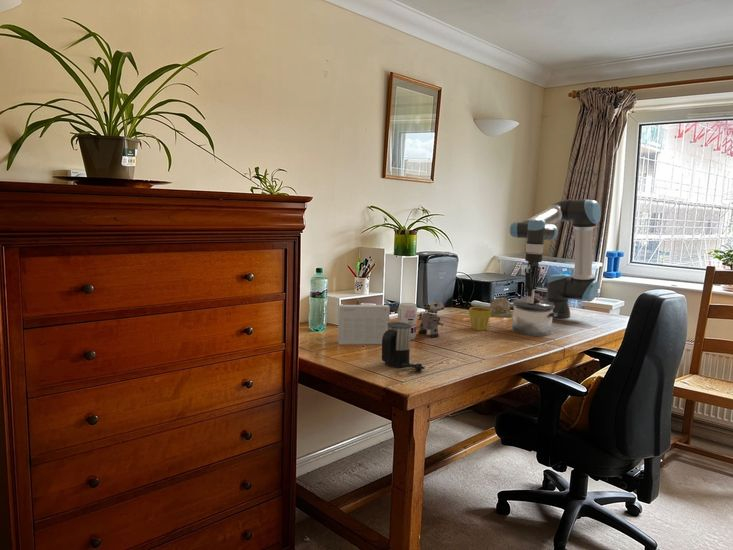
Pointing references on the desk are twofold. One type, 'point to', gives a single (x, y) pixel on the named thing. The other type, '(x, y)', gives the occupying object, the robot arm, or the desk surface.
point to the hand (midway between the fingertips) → (530, 302)
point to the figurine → (431, 319)
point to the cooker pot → (532, 321)
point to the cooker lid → (534, 304)
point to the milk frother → (398, 346)
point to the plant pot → (479, 317)
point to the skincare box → (362, 323)
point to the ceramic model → (501, 308)
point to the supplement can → (408, 316)
